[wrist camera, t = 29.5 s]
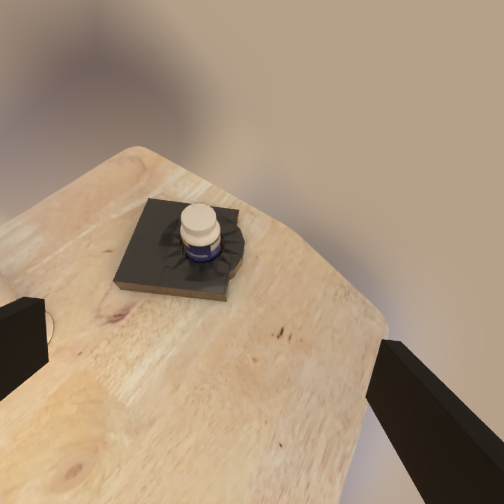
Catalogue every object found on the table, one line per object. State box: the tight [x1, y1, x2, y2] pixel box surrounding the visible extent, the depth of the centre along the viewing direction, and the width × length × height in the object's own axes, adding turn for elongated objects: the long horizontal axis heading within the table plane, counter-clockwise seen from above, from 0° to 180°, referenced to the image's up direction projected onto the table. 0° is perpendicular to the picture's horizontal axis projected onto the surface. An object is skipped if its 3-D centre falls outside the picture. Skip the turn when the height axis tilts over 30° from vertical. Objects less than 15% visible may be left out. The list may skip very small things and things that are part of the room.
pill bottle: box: [180, 203, 221, 263], centre depth 37 cm, size 6×6×10 cm
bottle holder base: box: [113, 198, 245, 302], centre depth 40 cm, size 18×16×3 cm
